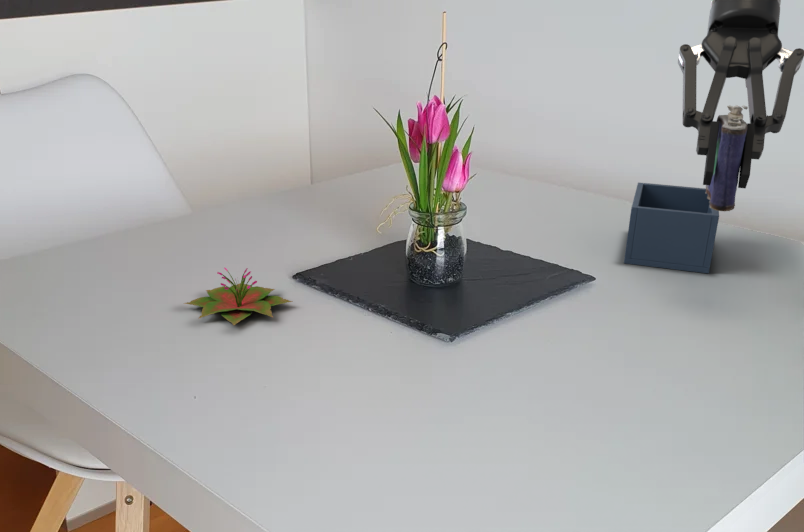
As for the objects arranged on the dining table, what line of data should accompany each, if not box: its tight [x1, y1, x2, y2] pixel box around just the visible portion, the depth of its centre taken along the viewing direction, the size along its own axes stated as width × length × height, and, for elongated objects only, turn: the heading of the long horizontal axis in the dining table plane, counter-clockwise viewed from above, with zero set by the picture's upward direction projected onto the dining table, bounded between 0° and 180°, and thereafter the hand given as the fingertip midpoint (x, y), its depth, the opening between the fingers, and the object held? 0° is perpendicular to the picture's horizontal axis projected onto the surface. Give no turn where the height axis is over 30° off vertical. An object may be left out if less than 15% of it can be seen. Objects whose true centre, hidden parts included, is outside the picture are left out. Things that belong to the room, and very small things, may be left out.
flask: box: [705, 104, 749, 212], centre depth 93 cm, size 9×3×11 cm, turn 162°
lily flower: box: [183, 267, 293, 326], centre depth 96 cm, size 12×12×5 cm
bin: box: [623, 182, 720, 274], centre depth 114 cm, size 11×14×8 cm
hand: (725, 179), depth 90 cm, fingers closed on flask, 3 cm apart
